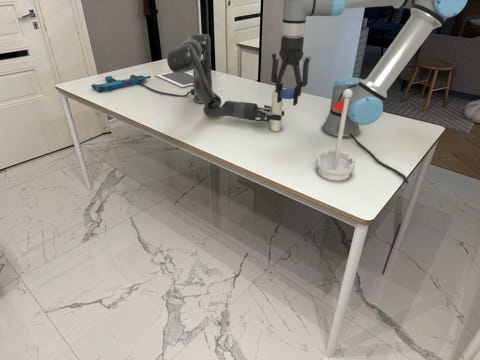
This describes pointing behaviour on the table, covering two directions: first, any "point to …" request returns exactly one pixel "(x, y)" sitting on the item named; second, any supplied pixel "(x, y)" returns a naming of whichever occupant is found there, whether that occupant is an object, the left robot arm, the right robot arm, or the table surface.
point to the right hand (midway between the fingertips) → (287, 102)
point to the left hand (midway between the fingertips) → (282, 115)
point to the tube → (276, 111)
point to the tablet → (178, 78)
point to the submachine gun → (119, 82)
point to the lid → (287, 93)
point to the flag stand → (337, 149)
